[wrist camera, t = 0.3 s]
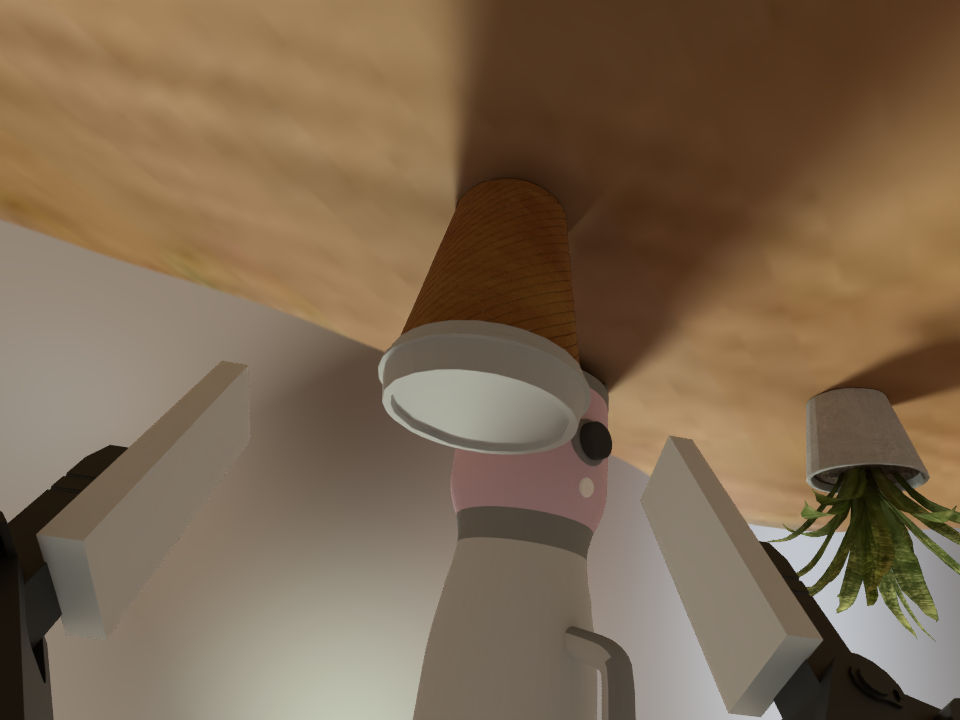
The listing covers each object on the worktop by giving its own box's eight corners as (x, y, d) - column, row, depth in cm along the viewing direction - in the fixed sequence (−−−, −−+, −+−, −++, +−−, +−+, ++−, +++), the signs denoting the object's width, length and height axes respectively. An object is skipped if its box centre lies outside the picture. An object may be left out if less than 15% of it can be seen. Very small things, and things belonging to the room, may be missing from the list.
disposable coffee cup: (396, 172, 25) (325, 370, 19) (578, 128, 22) (562, 354, 16) (464, 288, 33) (429, 457, 27) (609, 269, 29) (606, 459, 23)
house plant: (692, 417, 44) (708, 619, 36) (807, 338, 32) (872, 615, 24) (836, 448, 45) (884, 651, 37) (1000, 383, 33) (1127, 663, 25)
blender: (533, 423, 50) (492, 840, 34) (440, 374, 44) (335, 856, 28) (675, 381, 39) (713, 973, 23) (577, 308, 33) (533, 1047, 17)
